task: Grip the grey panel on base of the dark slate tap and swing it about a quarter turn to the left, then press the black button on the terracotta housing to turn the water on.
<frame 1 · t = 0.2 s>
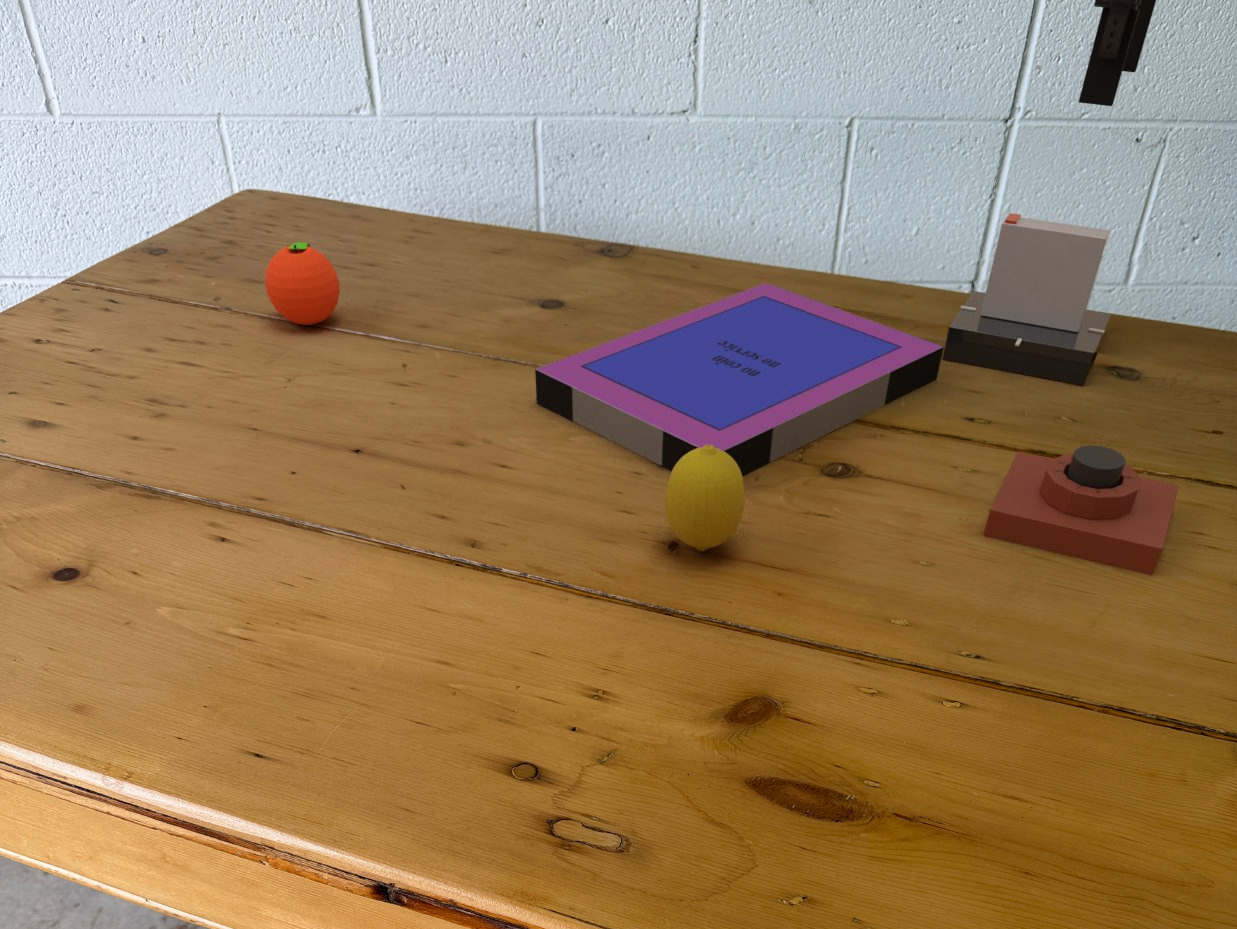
hand: (1108, 86, 97), 20 cm above the table, tool pointing down, fingers open, 13 cm apart
clementine: (311, 322, 110), on the table
book: (740, 393, 99), on the table
lemon: (701, 552, 81), on the table
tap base: (1022, 352, 105), on the table
grey panel on base: (1043, 273, 100), point 7 cm above the table, hinge at 0.0°
switch block: (1077, 523, 83), on the table
button: (1095, 468, 80), point 4 cm above the table, slide at 0.1 cm
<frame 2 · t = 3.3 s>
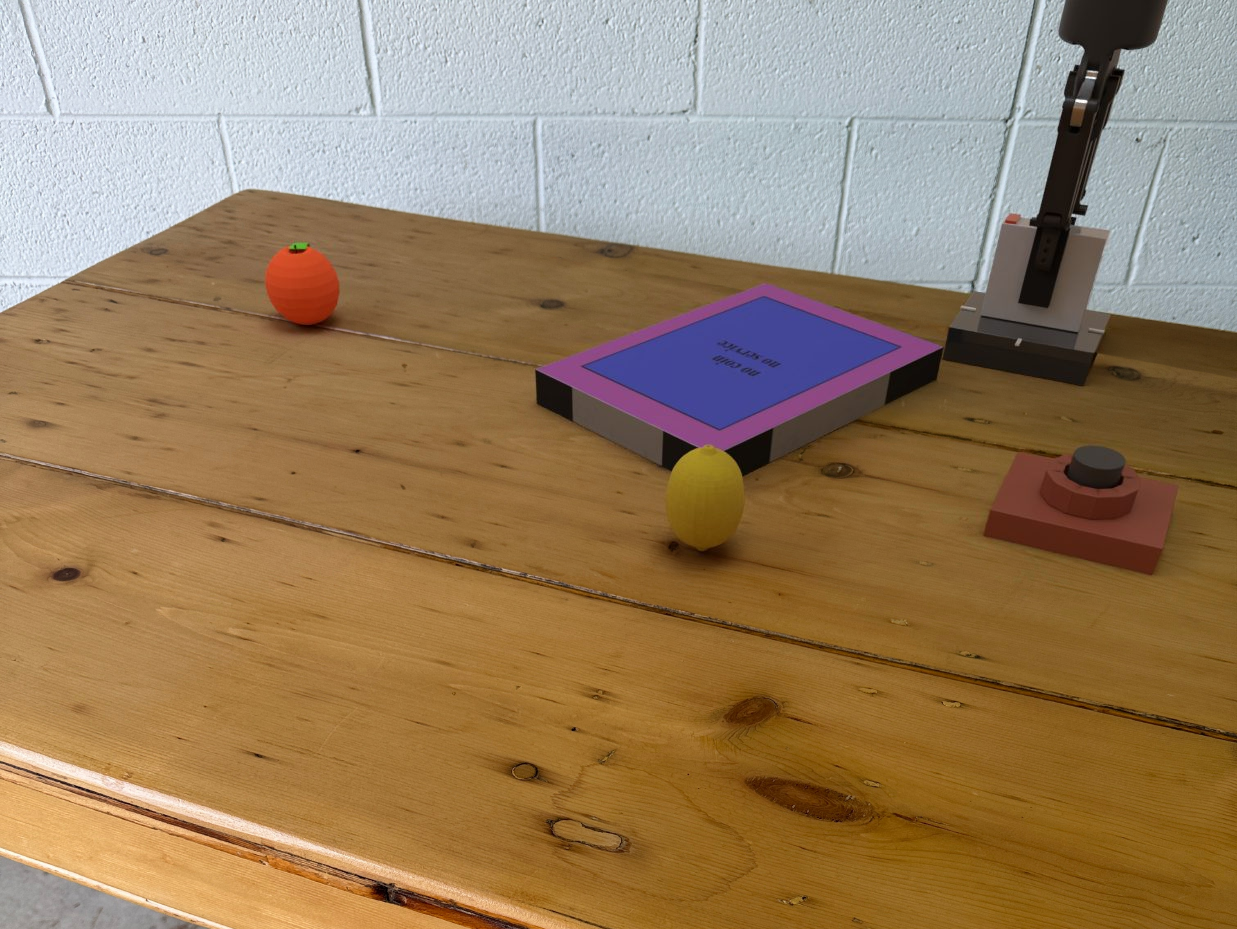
hand: (1037, 297, 102), 5 cm above the table, tool pointing down, fingers closed on grey panel on base, 2 cm apart
grey panel on base: (1043, 273, 100), point 7 cm above the table, hinge at 0.0°, touching gripper
everything else where it was.
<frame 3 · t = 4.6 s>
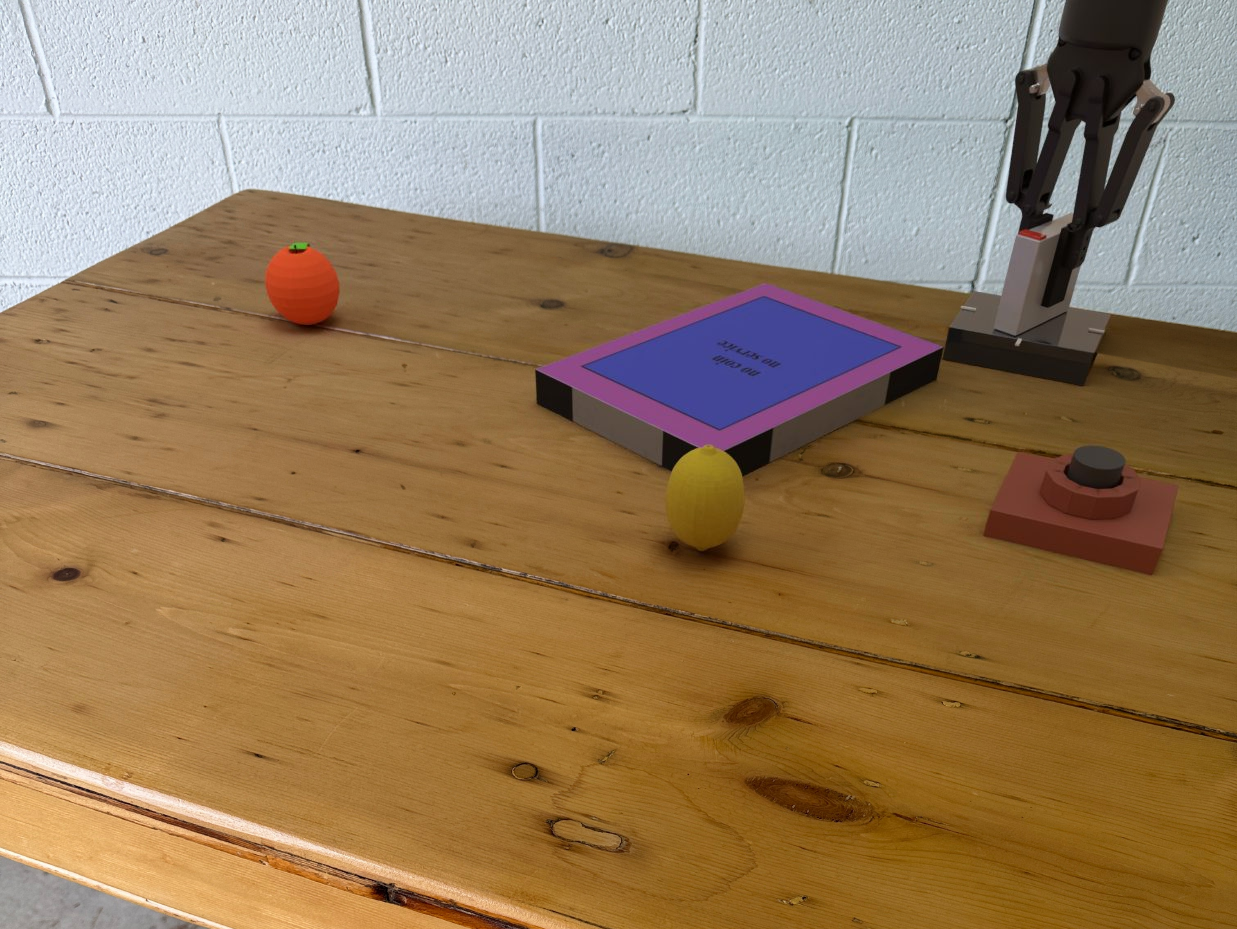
hand: (1037, 297, 102), 5 cm above the table, tool pointing down, fingers closed on grey panel on base, 2 cm apart
grey panel on base: (1043, 273, 100), point 7 cm above the table, hinge at 68.8°, touching gripper
everything else where it was.
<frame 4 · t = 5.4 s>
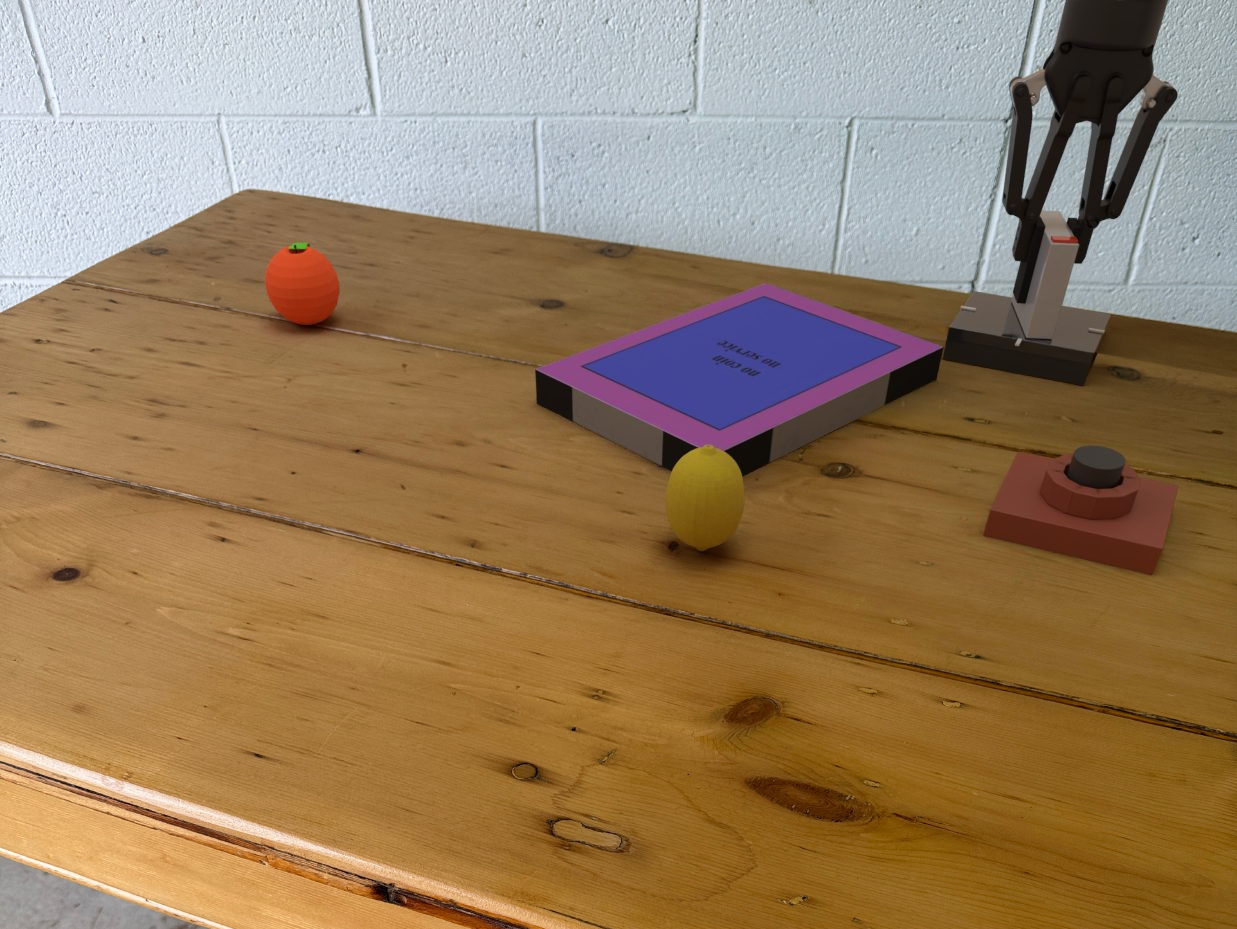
hand: (1036, 298, 102), 5 cm above the table, tool pointing down, fingers closed on grey panel on base, 2 cm apart
grey panel on base: (1043, 273, 100), point 7 cm above the table, hinge at 109.9°, touching gripper
everything else where it was.
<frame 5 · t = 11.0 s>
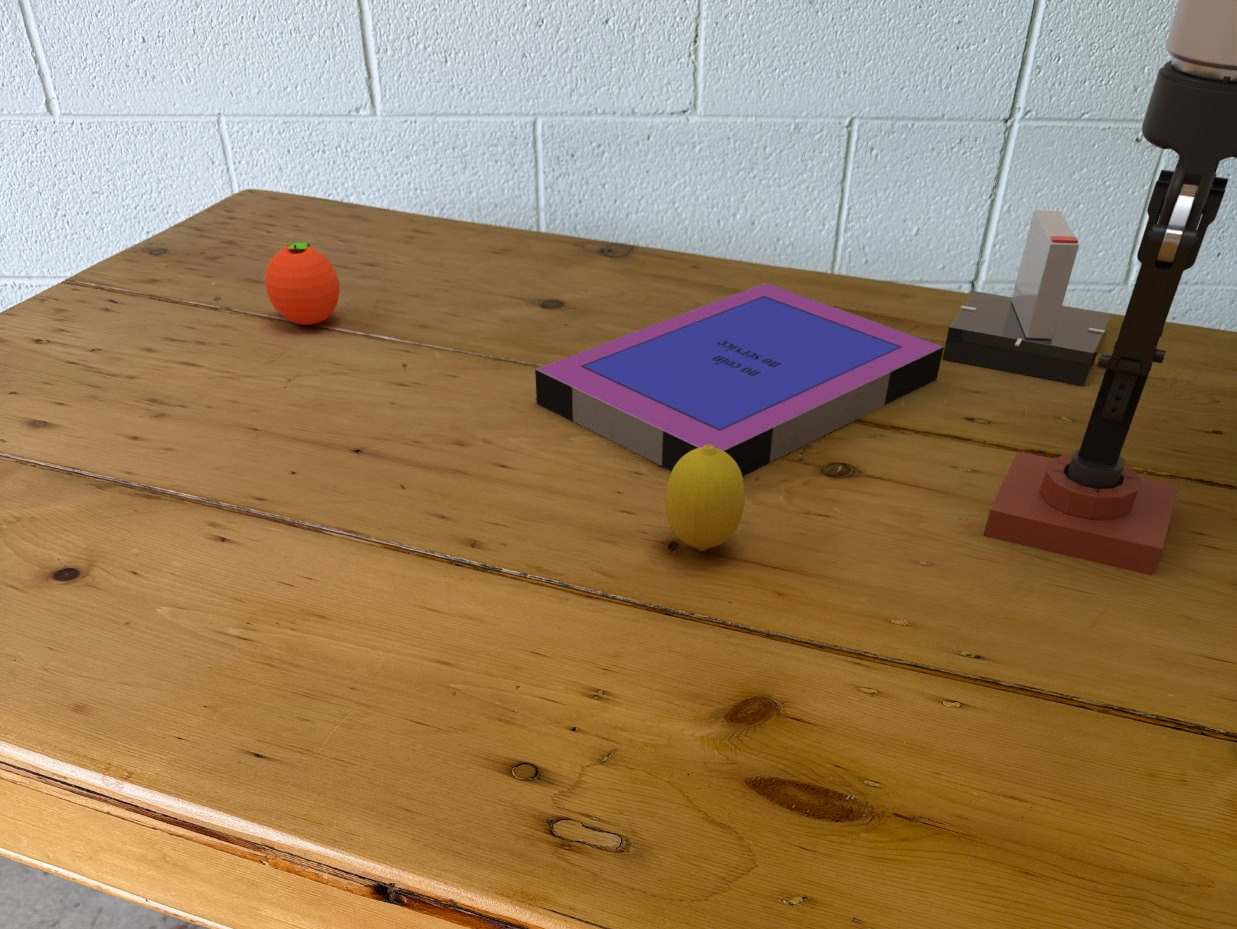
hand: (1098, 455, 80), 5 cm above the table, tool pointing down, fingers closed
grey panel on base: (1043, 273, 100), point 7 cm above the table, hinge at 109.9°
button: (1095, 470, 80), point 4 cm above the table, slide at -0.1 cm, touching gripper
everything else where it was.
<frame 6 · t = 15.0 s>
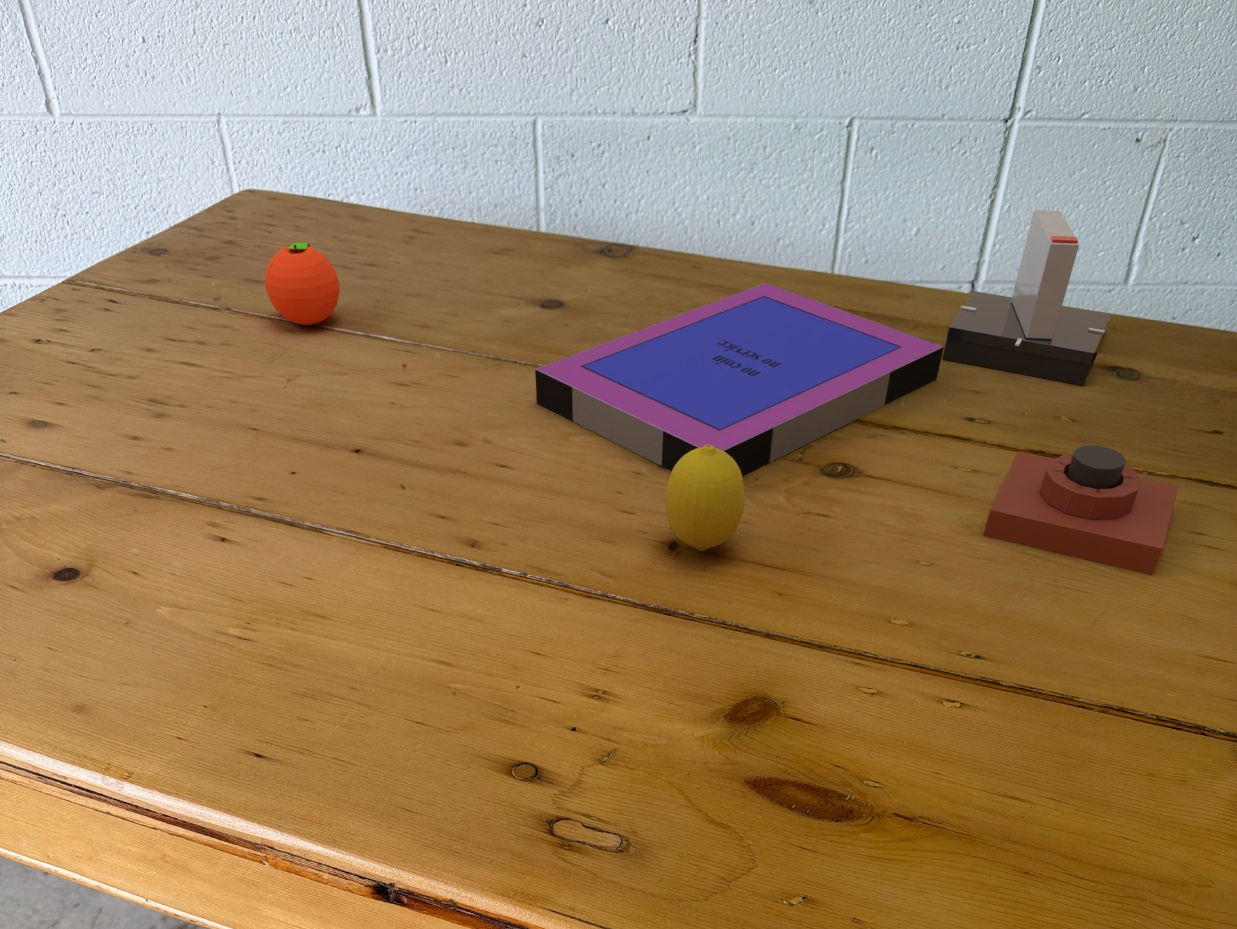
button: (1095, 468, 80), point 4 cm above the table, slide at 0.1 cm
everything else where it was.
at the end: grey panel on base at +110° (first picture: +0°); button pushed in 1.0 cm at the most during the clip, back to where it started at the end; button slide at 0.1 cm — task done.
